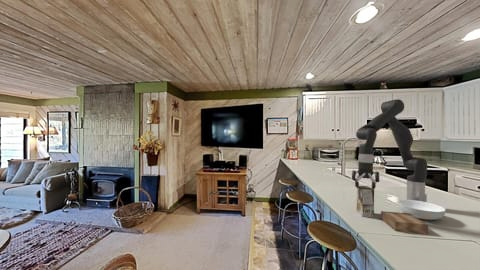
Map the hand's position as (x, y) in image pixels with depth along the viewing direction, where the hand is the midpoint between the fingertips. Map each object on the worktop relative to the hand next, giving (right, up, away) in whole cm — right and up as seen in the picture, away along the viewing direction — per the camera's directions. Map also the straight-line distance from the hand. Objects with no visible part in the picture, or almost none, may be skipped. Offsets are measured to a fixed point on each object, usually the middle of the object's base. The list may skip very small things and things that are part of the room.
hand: (365, 188), depth 120 cm
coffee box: (0, -16, 0) cm, 16 cm away
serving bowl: (+31, -16, -2) cm, 35 cm away
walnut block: (+10, -16, -15) cm, 24 cm away
